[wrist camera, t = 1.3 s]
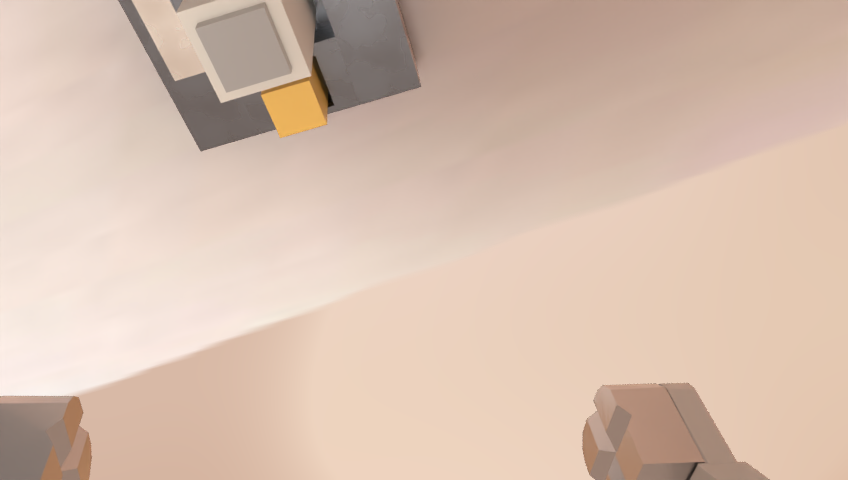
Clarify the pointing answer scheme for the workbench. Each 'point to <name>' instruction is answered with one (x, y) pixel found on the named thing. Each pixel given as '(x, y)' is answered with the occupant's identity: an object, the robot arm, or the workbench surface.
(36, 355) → the workbench surface
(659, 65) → the workbench surface
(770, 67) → the workbench surface
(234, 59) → the plug
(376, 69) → the panel
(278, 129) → the plate
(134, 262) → the workbench surface
